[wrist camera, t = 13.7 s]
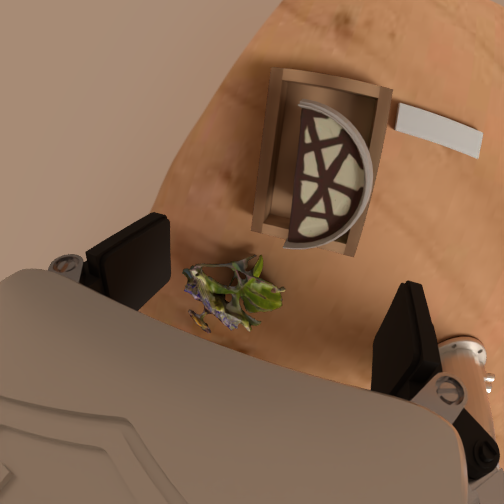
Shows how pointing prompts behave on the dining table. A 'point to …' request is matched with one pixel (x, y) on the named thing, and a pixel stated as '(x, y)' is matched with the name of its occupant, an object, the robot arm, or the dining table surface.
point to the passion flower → (249, 289)
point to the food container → (327, 177)
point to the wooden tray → (287, 138)
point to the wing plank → (438, 130)
